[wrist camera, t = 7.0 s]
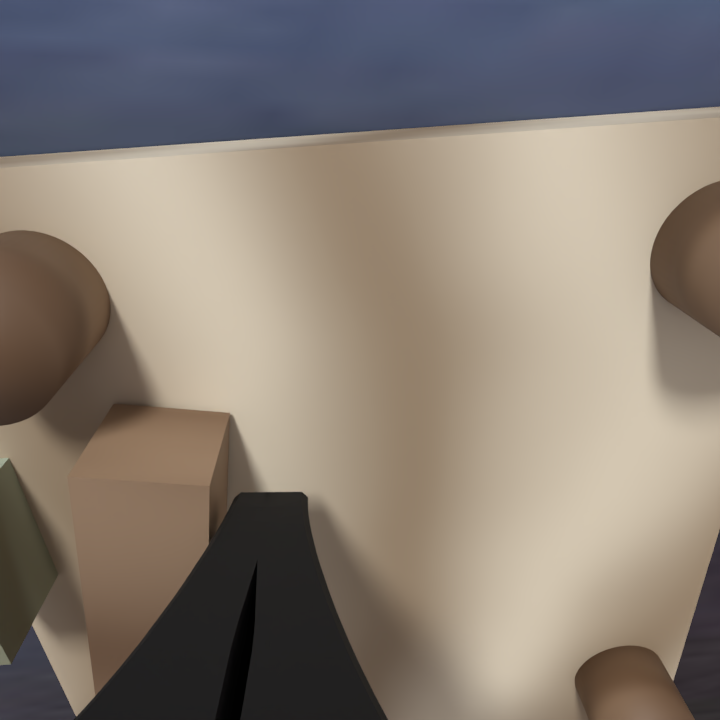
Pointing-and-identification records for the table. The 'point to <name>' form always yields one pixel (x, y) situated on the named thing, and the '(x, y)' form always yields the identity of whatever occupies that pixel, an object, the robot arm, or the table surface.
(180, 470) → the folding leg
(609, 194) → the stool seat
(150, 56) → the table surface
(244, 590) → the robot arm
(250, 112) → the table surface
